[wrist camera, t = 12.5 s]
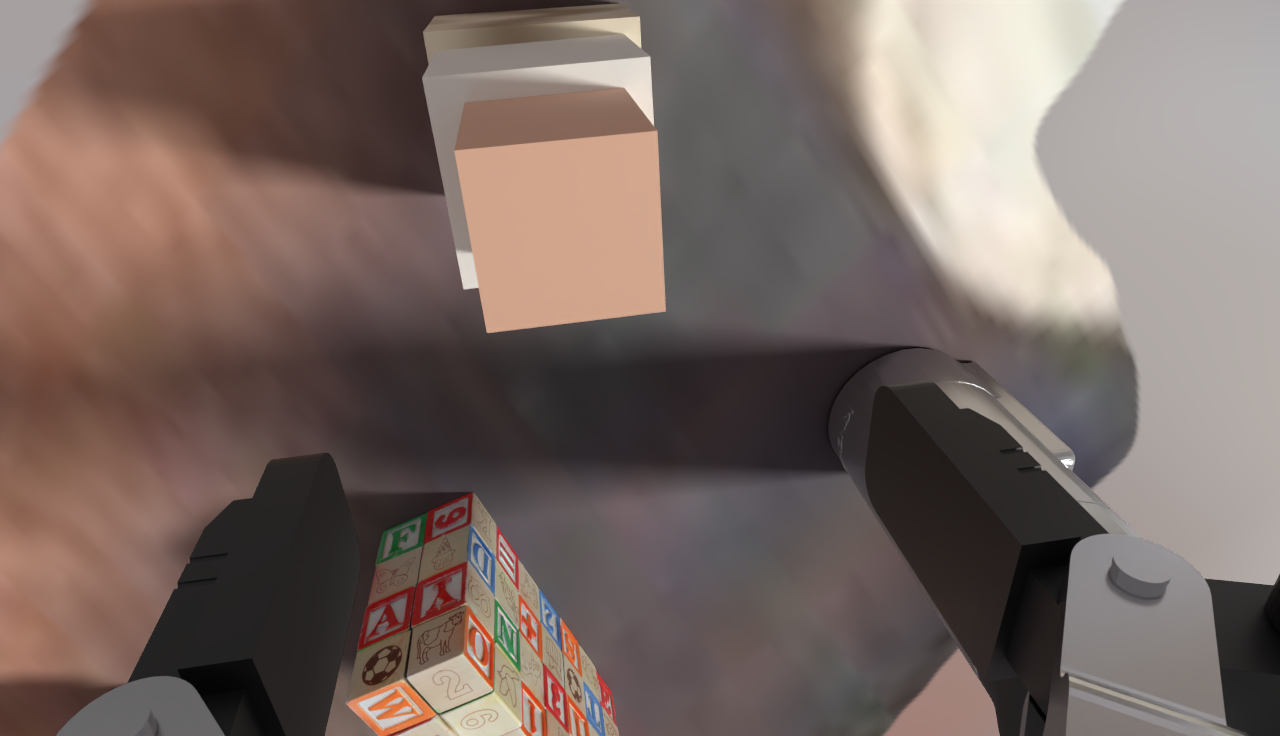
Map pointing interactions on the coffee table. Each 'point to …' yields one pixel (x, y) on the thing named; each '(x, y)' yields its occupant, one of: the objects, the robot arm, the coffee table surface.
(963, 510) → the robot arm
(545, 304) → the tan block
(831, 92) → the coffee table surface
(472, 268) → the cream middle block
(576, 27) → the maple base block
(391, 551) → the stack of blocks
